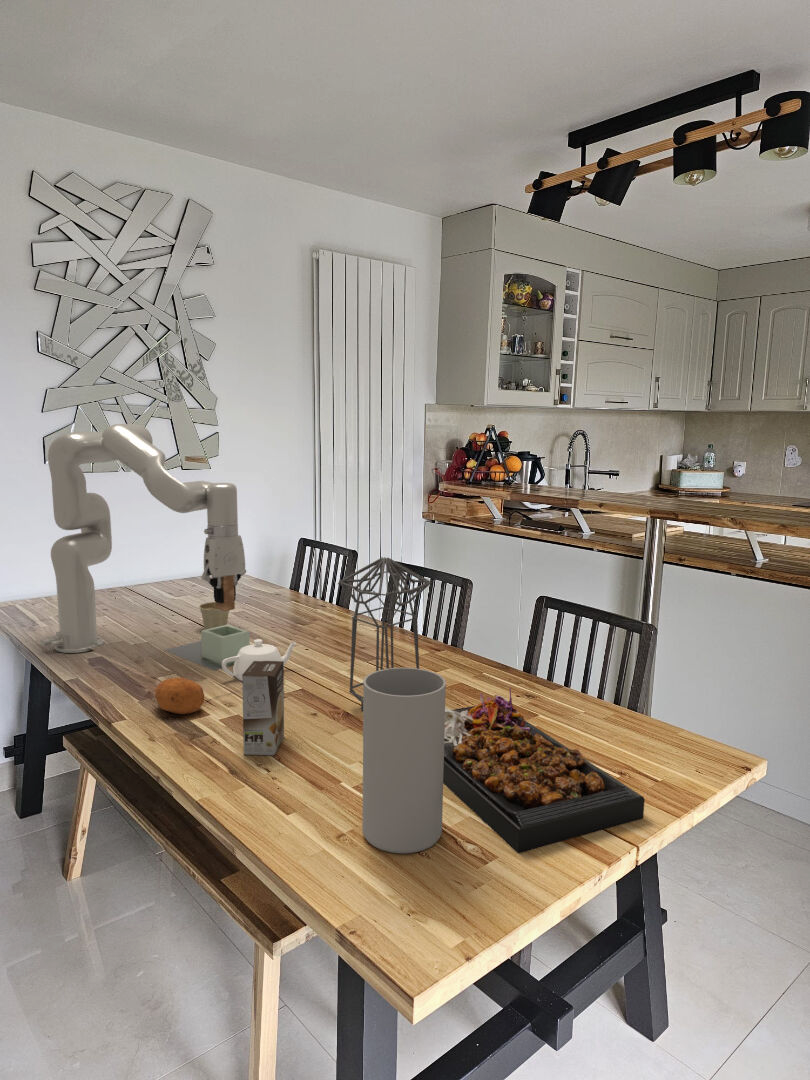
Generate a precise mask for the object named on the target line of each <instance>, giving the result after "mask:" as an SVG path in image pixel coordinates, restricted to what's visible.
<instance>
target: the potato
mask: <svg viewBox="0 0 810 1080" xmlns="http://www.w3.org/2000/svg"><path fill="white" fill-rule="evenodd" d="M154 696H155V697H154V698H155V700H156V702H157V704H158V706H159V707H160V709H161V710H163V711H167V712H170V713H173V714H178V715H186V714H192V713H194V712H197V711H199V710H200V709H201V707H202V706H203V704H204V703H205V693H204V690H203V688H202V686H201V685H200V684H199V683H197V682H196V681H194V680H191V679H187V678H184V677H173V678H172V677H171V678H167V679H164V680H162V681H161V682H160V683H159V684H157V686H156V688H155V689H154Z"/></svg>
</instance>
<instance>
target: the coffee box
mask: <svg viewBox="0 0 810 1080" xmlns="http://www.w3.org/2000/svg"><path fill="white" fill-rule="evenodd" d="M284 670H285V665H284V662H283V661H253V663H252V664H251V665H250V666H249V667H248V669H247V670H246V671H245V672H244V673H243V675H242V679H243V681H242V726H243V727H242V729H243V730H242V731H243V733H242V734H243V735H242V736H243V738H242V739H243V755H248V756H249V755H250V756H252V755H253V756H275V755H276V753H277V751H278V749H279V748H280V745H281V743H282V741H283V739H284V737H285V707H284V706H285V698H284V697H285V695H284V694H285V691H284V690H285V685H284V684H285V681H284V680H285V679H284V676H285V675H284V672H285V671H284Z"/></svg>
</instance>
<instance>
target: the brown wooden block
mask: <svg viewBox="0 0 810 1080" xmlns="http://www.w3.org/2000/svg"><path fill="white" fill-rule="evenodd" d="M221 588H223V601H224V602H223V603H217V602H216V609H219V610H223V611H228V610H230V611H232V610H235V609H236V607H235V605H236V604H235V602H236V600H235V601H234V575H231V576H225V577H222V584H221Z"/></svg>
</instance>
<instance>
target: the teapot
mask: <svg viewBox="0 0 810 1080" xmlns="http://www.w3.org/2000/svg"><path fill="white" fill-rule="evenodd" d="M253 642H254V644H250V645H247V646H244V647H242V648H241V649H240V651H239V652H238V654H237V656H234V657H230V658H226V659H224V660H223V661H222V669H221V670H222V671H224V672H225V674H227V675H229V676H230V677H235V678H236V679H237V680H238V681H240V682H243V679H242V675H243V673H244V672H245V671H246V670H247V669H248V667H249V666H250V665H251V664H252V663H253V661H283V662H284V666H285V665H286V664H287V663H288V661H289V659H290V657H291V654H292V652H293V649H294V647H295V646H296V645H297V643H296V642H290V644H289V646H288V648H287V650H286V652H285V654H284V655H283V656H281V653H280V652H279V649H278V648H277V647H276V646H275V645H272V644H268V643H263V639H260V638H256V639H254V640H253ZM230 661H235V663H234V665H232V667H233V668H232V670H230V669H228V667H226V663H227V662H230ZM232 671H233V672H232Z"/></svg>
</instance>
